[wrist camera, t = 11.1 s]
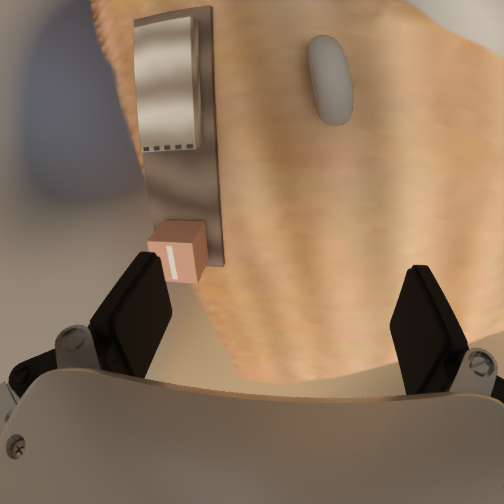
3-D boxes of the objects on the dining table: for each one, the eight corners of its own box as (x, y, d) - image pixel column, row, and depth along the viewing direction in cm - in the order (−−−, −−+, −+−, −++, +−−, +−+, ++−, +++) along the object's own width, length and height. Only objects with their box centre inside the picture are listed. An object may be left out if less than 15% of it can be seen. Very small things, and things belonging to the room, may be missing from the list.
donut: (301, 43, 28) (306, 28, 20) (330, 41, 28) (345, 25, 19) (316, 121, 33) (325, 134, 25) (344, 119, 32) (362, 131, 24)
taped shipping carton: (164, 220, 41) (146, 241, 36) (204, 221, 40) (191, 243, 35) (170, 256, 44) (155, 280, 39) (208, 258, 44) (197, 284, 38)
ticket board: (137, 21, 28) (121, 16, 24) (212, 7, 27) (203, -1, 23) (163, 259, 46) (153, 274, 43) (224, 263, 45) (218, 279, 42)
